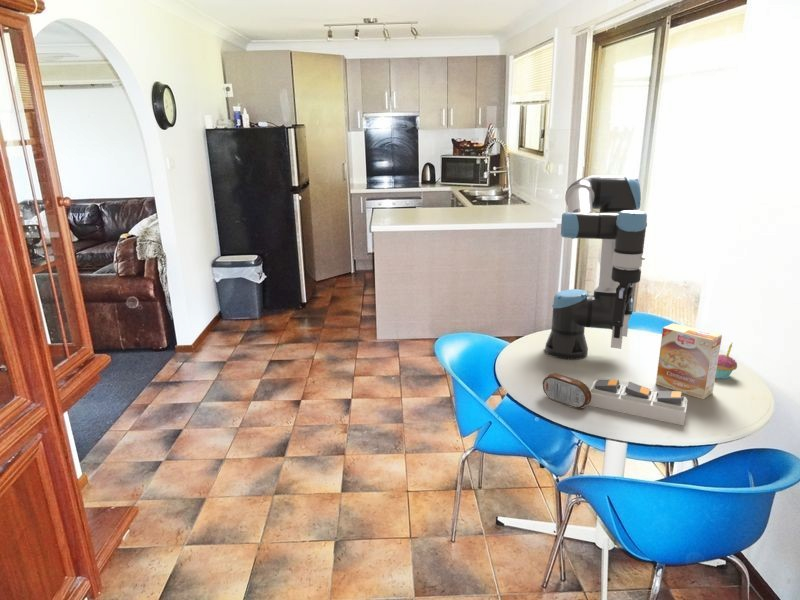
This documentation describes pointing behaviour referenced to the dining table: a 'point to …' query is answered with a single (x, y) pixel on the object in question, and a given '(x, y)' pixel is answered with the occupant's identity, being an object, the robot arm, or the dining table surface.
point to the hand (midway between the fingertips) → (619, 341)
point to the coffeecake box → (688, 360)
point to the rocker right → (670, 397)
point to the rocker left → (607, 385)
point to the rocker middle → (637, 390)
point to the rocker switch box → (638, 405)
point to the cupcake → (725, 365)
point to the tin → (566, 390)
